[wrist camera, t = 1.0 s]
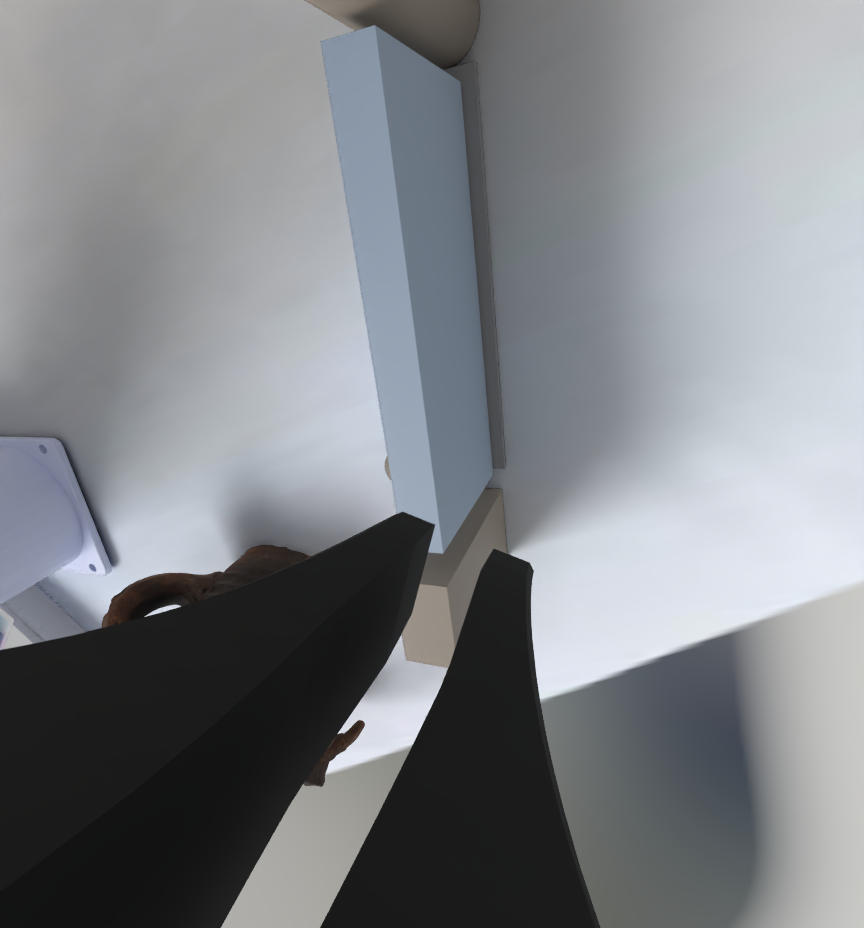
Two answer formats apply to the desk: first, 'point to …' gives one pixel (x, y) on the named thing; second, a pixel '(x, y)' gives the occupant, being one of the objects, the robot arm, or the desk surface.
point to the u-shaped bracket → (457, 570)
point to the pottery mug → (199, 587)
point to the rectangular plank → (414, 269)
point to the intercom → (33, 620)
